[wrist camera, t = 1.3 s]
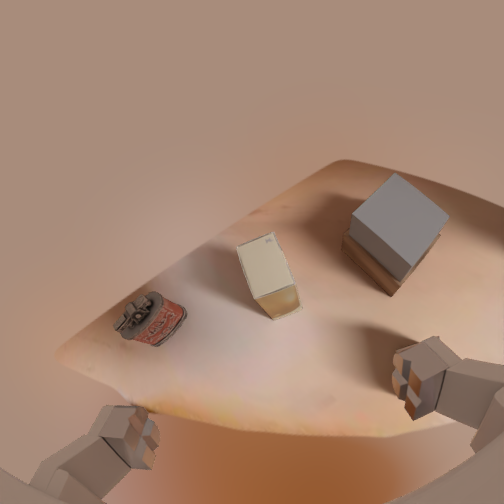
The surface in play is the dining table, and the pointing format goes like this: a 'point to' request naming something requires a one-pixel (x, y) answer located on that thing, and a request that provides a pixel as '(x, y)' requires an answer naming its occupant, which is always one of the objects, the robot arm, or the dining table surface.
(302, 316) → the dining table surface
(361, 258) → the tower base block
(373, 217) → the tower top block
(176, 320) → the lighter
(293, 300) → the skincare box
